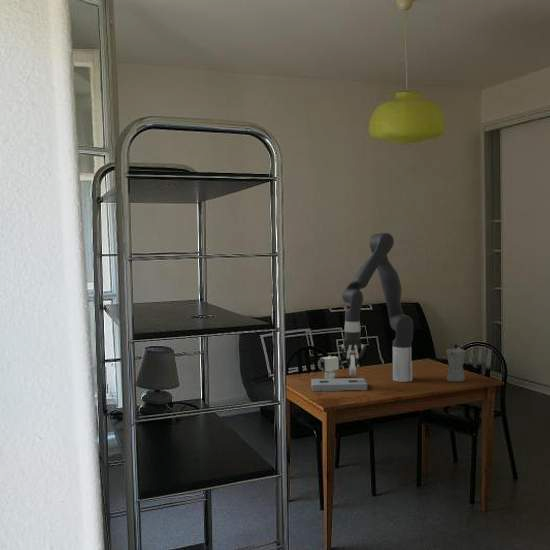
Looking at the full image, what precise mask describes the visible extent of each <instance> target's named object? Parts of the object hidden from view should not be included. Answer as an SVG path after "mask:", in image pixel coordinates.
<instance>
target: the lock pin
mask: <svg viewBox="0 0 550 550" xmlns="http://www.w3.org/2000/svg"><path fill="white" fill-rule="evenodd" d="M349 358H350V366H348V368H349V372H348V375H349V376H350V377H351V376H352V377H354V376H356V375H357V373H356V371H357V369H356V368H357V366H356V354H355V350H351V351H350V356H349Z"/></svg>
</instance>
